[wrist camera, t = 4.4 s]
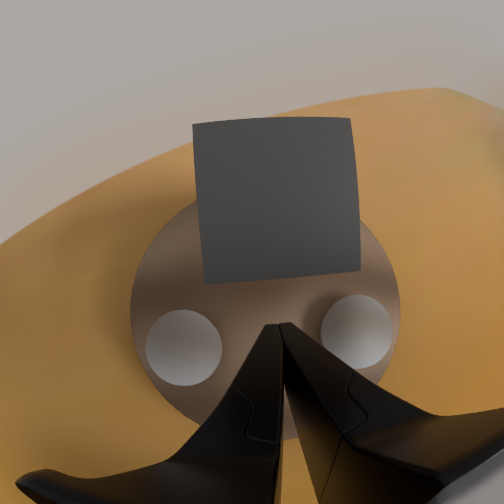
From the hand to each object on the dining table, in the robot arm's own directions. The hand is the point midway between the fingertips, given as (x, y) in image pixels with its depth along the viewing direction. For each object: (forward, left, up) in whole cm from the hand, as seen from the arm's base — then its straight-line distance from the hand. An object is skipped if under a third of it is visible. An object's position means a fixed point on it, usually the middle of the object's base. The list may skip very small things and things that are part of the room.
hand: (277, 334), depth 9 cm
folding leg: (+6, +4, -4) cm, 9 cm away
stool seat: (+2, +2, -8) cm, 8 cm away
